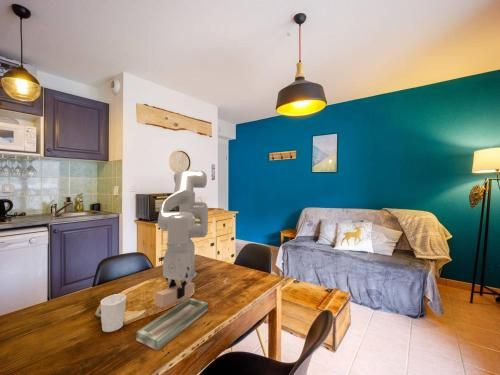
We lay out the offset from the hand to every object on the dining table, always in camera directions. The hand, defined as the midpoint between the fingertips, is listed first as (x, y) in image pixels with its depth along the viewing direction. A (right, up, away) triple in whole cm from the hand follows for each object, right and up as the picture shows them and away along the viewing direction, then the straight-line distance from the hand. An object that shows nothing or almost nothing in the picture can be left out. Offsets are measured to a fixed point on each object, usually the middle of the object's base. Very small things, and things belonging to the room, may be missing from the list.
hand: (176, 295), depth 84 cm
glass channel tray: (0, -11, 0) cm, 11 cm away
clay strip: (0, -1, -1) cm, 1 cm away
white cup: (-23, -10, -2) cm, 25 cm away
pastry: (-31, -10, +7) cm, 34 cm away
